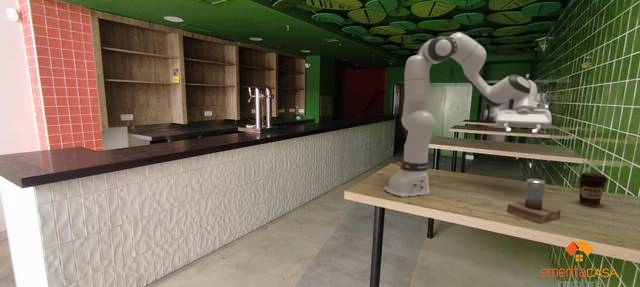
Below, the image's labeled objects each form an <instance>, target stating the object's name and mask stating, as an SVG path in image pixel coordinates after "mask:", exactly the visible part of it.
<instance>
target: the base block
mask: <svg viewBox="0 0 640 287" xmlns="http://www.w3.org/2000/svg"><path fill="white" fill-rule="evenodd" d="M506 206H507V207H506V212H507V213H509V214H512V215H514V216H517V217H521V218H523V219H526V220H529V221H531V222H534V223H538V224H545V223H547V222H550V221H554V220H556V219H560V218H561V210H562V209H559V208H556V207H555V208H554V207H552V206H549V205H545V204H543V205H542V209H541V210H534V209H529V208H527V207H525V199H524V200H521V201H516V202H514V203H509V204H507V205H506Z"/></svg>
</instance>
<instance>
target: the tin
mask: <svg viewBox="0 0 640 287" xmlns="http://www.w3.org/2000/svg"><path fill="white" fill-rule="evenodd" d="M545 186H546V181H545V180H542V179H540V178H539V179H537V178H528V179H526V188H525V198H524V200H525V207H527V208H529V209H534V210H541V209H542V205H544V204H543V203H544V194H545Z"/></svg>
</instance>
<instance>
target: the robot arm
mask: <svg viewBox="0 0 640 287" xmlns="http://www.w3.org/2000/svg"><path fill="white" fill-rule="evenodd" d="M449 58H451V59H453V60H455V62H457V63H458V64H459V65H460V66H461V67H462V75H463V76H464V78H465V80H466V81H467V82H468V83H469V84H470V85H471V86H472V87H473V88H474V90H475V91H477V93H478V94H479V96H480V97H482V99H483V101H484V102H485V104H486V105H488V106H491V107H494V108H495V107H496V108H498V107H500V106H501V105H503V104H505V103H506V102H508V101H510V100H513V103H512V108H507V109H506V108H500V109H498V110H497V111H496V112H495V113H496V117H495V125H496V126H497V127H503V128H504V130H505V132H506V133H505V134H511V130H512V129H511V128H527V129H528V128H529V129H531V128H532V136H533V135H534V136H537V134H538V133H539V132H540V131H541V129H550V128H551V127H552V113H551V111H550V108H549V105H548V104H545V103H540V102H537V101H538V100H537V99H538V87H537V84H536V83H535V81H533V80H531V79H527V78H526V77H525V76H522V75H520V74H515V73H513V74H510V75H508V76H506V77H505V78H503V79H502V80H500V81H498V82H497V83H495V84H494V85H489V84H488V83H487V82H486V81H485V80H484V78H482V77H481V75H480V73H479V72H480V70H481V69H482V68H483V66H484V64H485V62H486V59H487V51H486V49H485V48H484V47H483V45H481V44H480V43H478V41H476V40H475V39H473V38H471V37H470V36H469V35H467V34H465V33H463V32H455V33H452V34H451V35H450V36H446V35H445V36H444V35H442V36H437V37H434V38H432V39H428V40H426V42H424V43H423V44H422V45H421V46H420V48H418V51H417V53H416V55H412V56H410V57H408V59H407V60H406V61H405V62H406V63H405V66H404V67H405V69H404V100H403V107H402V116H401V124H402V126H403V128H404V129H405V130H406V131H407V136H406V140H405V143H404V147H403V148H404V150H403V160H402V162H401V161H397V163H396V166H397V167H400V169H398V171H396V172H395V173H394V174H392V175H391V177H390V178H389V181H388V185H387V186H384V187H383V191H384V190H386V191H387V192H389V193H391V194H390V195H392V194H394V195H397V196H396V197H398V196H401V197H400V198H408V196H410V197H418V196H417V195H420V196H429V195H431V189H430V185H429V183H430V182H429V174H428V172H429V171H428V170H429V166H430V165H429V164H430V162H429V145H430V142H431V139H432V138H431V137H432V134H433V131H434V129H435V128H436V126H437V125H436V124H437V121H436V118H435V116H434V115H433V114H431V113H430V112H429V111H427V105H428V101H429V98H430V69H431V67H432V66H433V65H435V64H436V65H437V64H439V63H442V62H445V61H447V60H448V59H449ZM386 191H385V192H386ZM387 192H386V193H387ZM389 193H388V194H389ZM394 195H393V196H394Z"/></svg>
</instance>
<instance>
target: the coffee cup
mask: <svg viewBox="0 0 640 287" xmlns="http://www.w3.org/2000/svg"><path fill="white" fill-rule="evenodd" d="M607 181H608V178H606V175H605V174H601V173H594V172H582V174H581V175H580V176H579V193H578V194H579V202H578V203H579V204H581V205H583V206H587V207H588V206H589V207H593V208H594V207H596V208H599V207H601V200H602V195H604V194H603V193H604V189H605V185H606V184H607Z"/></svg>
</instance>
